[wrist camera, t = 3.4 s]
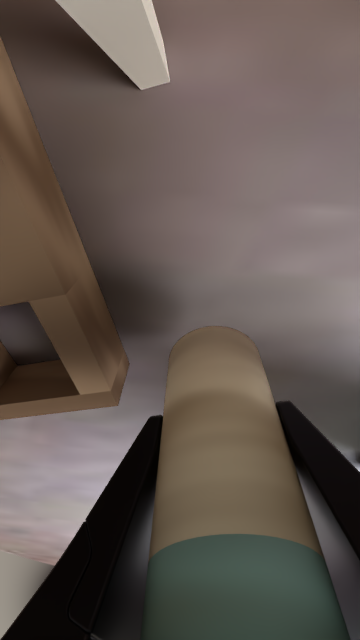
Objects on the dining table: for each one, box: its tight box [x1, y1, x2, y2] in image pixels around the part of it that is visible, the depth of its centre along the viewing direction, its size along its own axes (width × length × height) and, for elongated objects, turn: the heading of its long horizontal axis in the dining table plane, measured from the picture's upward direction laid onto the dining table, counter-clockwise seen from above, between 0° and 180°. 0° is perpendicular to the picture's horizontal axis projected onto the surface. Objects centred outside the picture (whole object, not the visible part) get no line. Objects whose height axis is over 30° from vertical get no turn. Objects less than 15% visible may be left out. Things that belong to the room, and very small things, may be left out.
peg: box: [140, 326, 351, 640], centre depth 8 cm, size 4×4×8 cm
